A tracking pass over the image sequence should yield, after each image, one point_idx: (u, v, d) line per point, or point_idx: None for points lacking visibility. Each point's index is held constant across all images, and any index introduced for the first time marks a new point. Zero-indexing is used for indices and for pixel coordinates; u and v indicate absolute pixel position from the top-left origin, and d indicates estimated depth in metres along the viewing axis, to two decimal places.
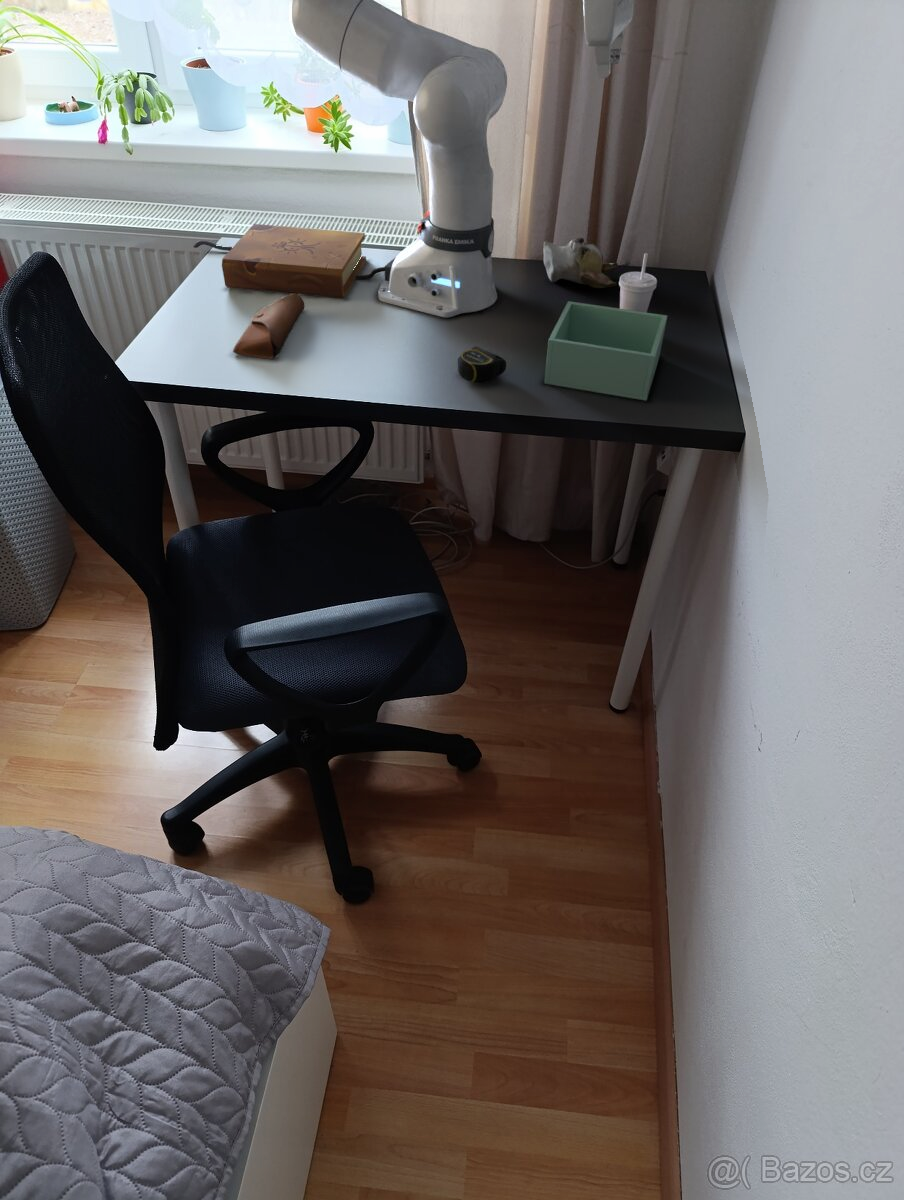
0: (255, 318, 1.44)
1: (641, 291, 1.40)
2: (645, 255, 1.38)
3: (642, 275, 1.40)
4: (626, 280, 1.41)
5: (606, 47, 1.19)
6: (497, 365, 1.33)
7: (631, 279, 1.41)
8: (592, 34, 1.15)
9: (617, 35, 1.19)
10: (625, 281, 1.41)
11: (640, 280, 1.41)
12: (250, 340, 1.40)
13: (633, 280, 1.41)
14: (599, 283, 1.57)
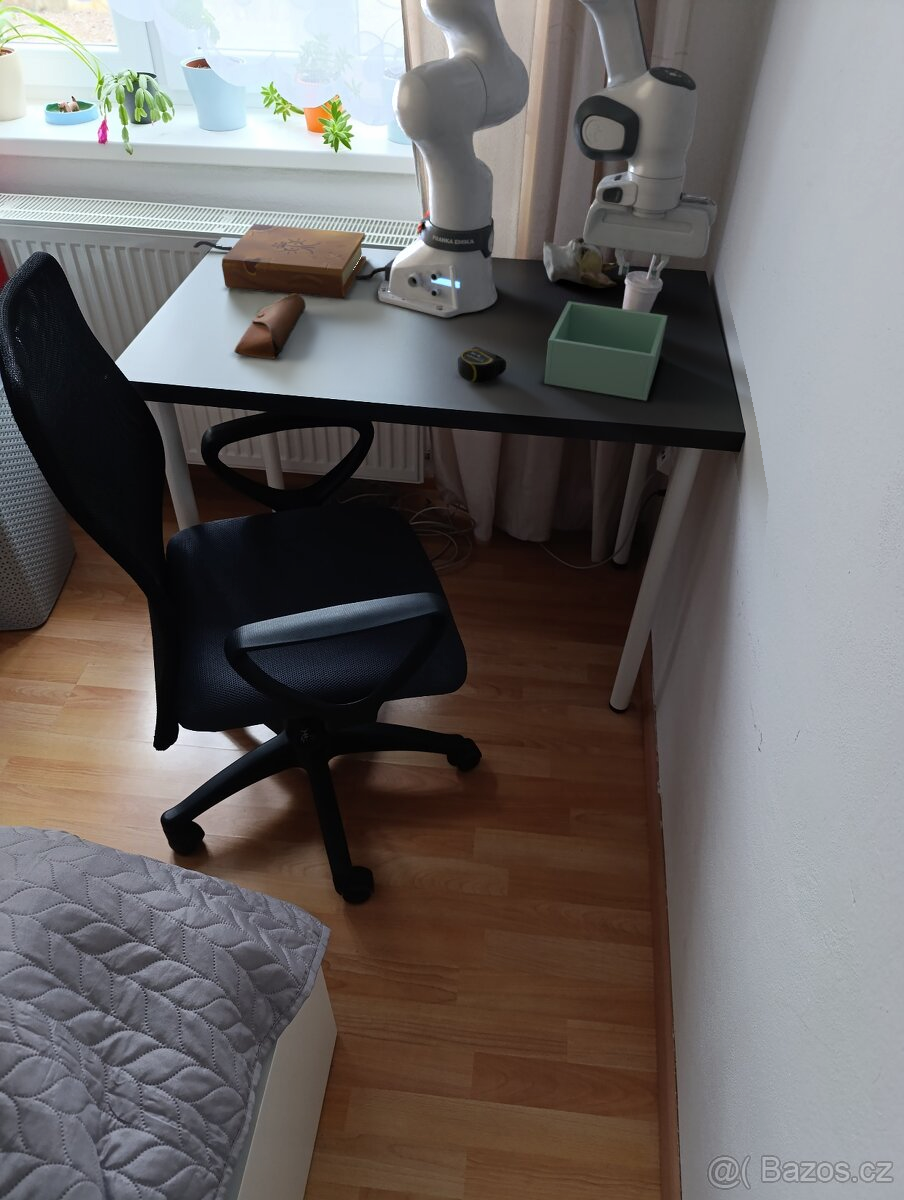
0: (256, 318, 1.44)
1: (647, 292, 1.39)
2: (654, 256, 1.38)
3: (649, 275, 1.40)
4: (632, 279, 1.41)
5: None
6: (497, 365, 1.33)
7: (637, 279, 1.41)
8: None
9: (616, 247, 1.37)
10: (631, 280, 1.40)
11: (646, 281, 1.40)
12: (251, 340, 1.40)
13: (639, 280, 1.40)
14: (599, 283, 1.57)
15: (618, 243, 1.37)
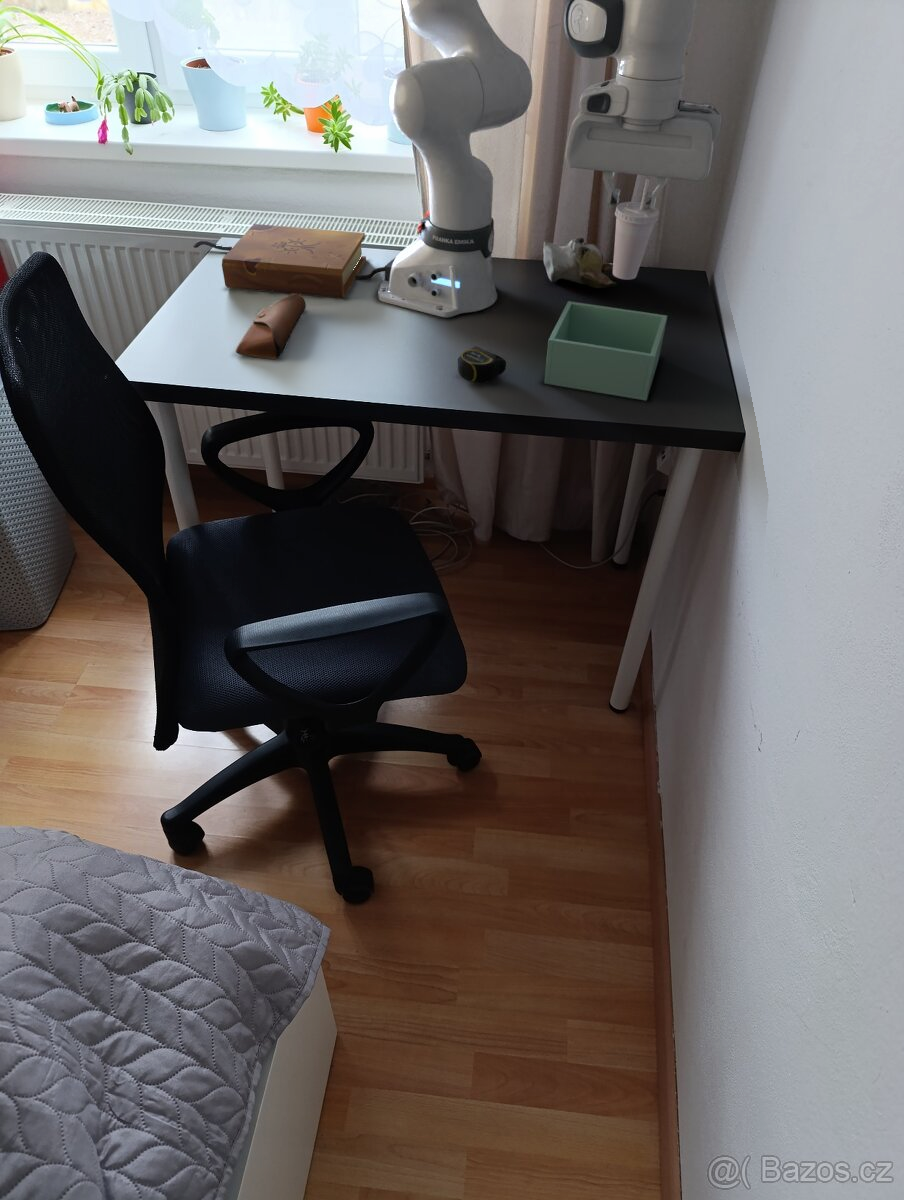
0: (257, 318, 1.44)
1: (641, 223, 1.20)
2: (647, 180, 1.18)
3: (643, 204, 1.21)
4: (623, 210, 1.21)
5: (603, 174, 1.19)
6: (497, 365, 1.33)
7: (629, 209, 1.21)
8: None
9: (604, 169, 1.18)
10: (622, 211, 1.21)
11: (640, 210, 1.21)
12: (252, 341, 1.40)
13: (632, 210, 1.21)
14: (599, 283, 1.57)
15: (606, 164, 1.17)
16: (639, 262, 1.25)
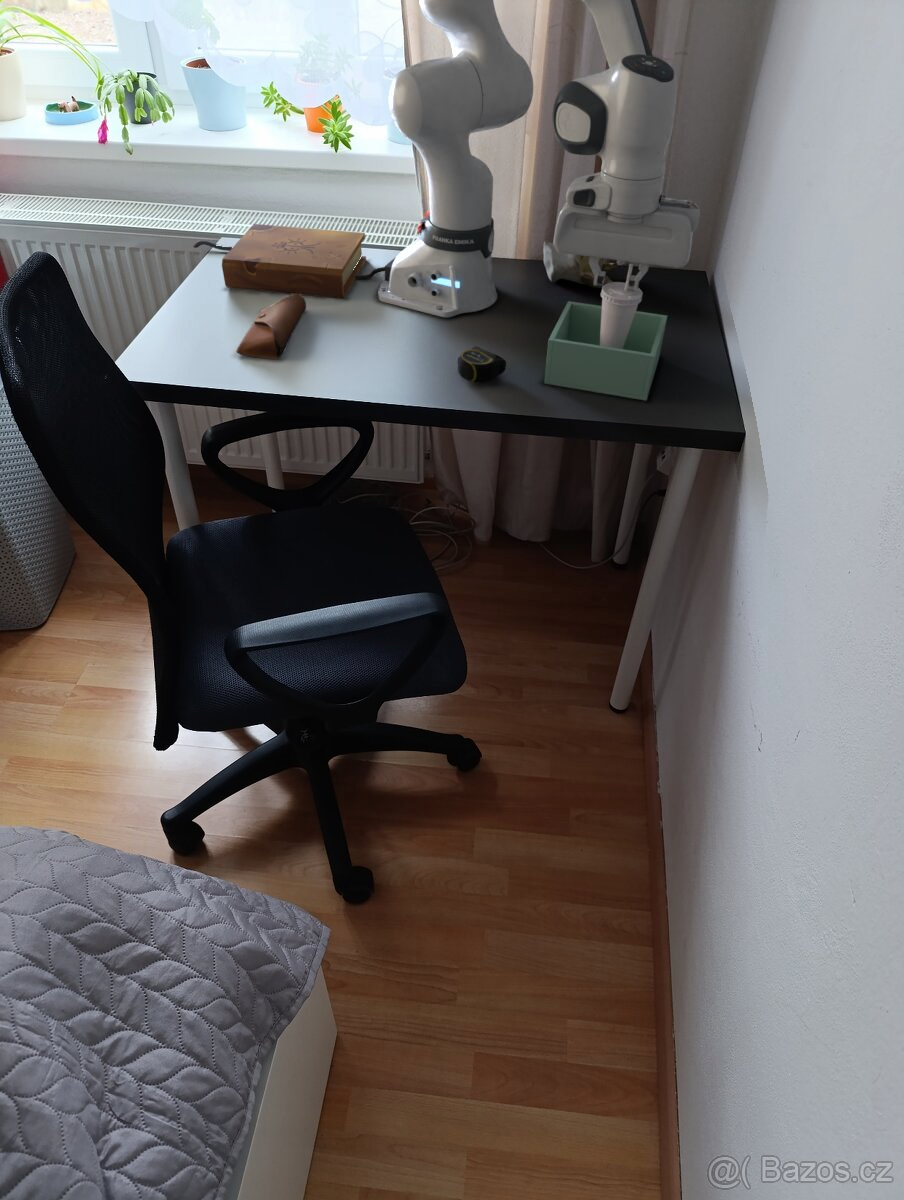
0: (258, 318, 1.44)
1: (625, 304, 1.27)
2: (630, 265, 1.25)
3: (627, 286, 1.28)
4: (608, 291, 1.28)
5: None
6: (497, 365, 1.33)
7: (614, 290, 1.28)
8: None
9: (590, 255, 1.25)
10: (608, 292, 1.28)
11: (624, 292, 1.28)
12: (253, 341, 1.40)
13: (616, 292, 1.28)
14: None
15: (592, 251, 1.24)
16: (624, 338, 1.32)
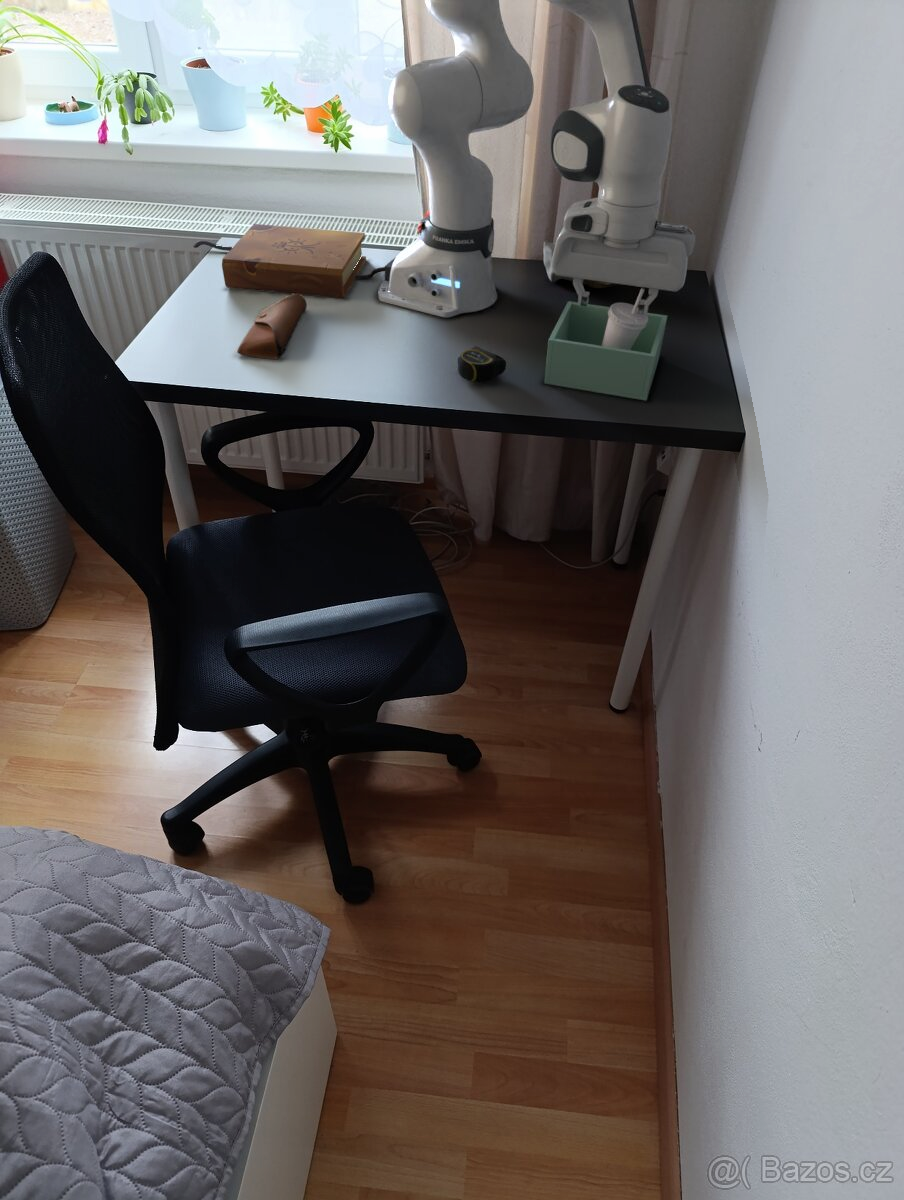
0: (258, 318, 1.44)
1: (630, 328, 1.29)
2: (642, 290, 1.27)
3: (634, 310, 1.29)
4: (616, 312, 1.30)
5: None
6: (497, 365, 1.33)
7: (622, 312, 1.30)
8: None
9: (587, 278, 1.27)
10: (615, 313, 1.29)
11: (631, 315, 1.30)
12: (254, 341, 1.40)
13: (624, 313, 1.30)
14: (599, 283, 1.57)
15: (589, 274, 1.26)
16: None
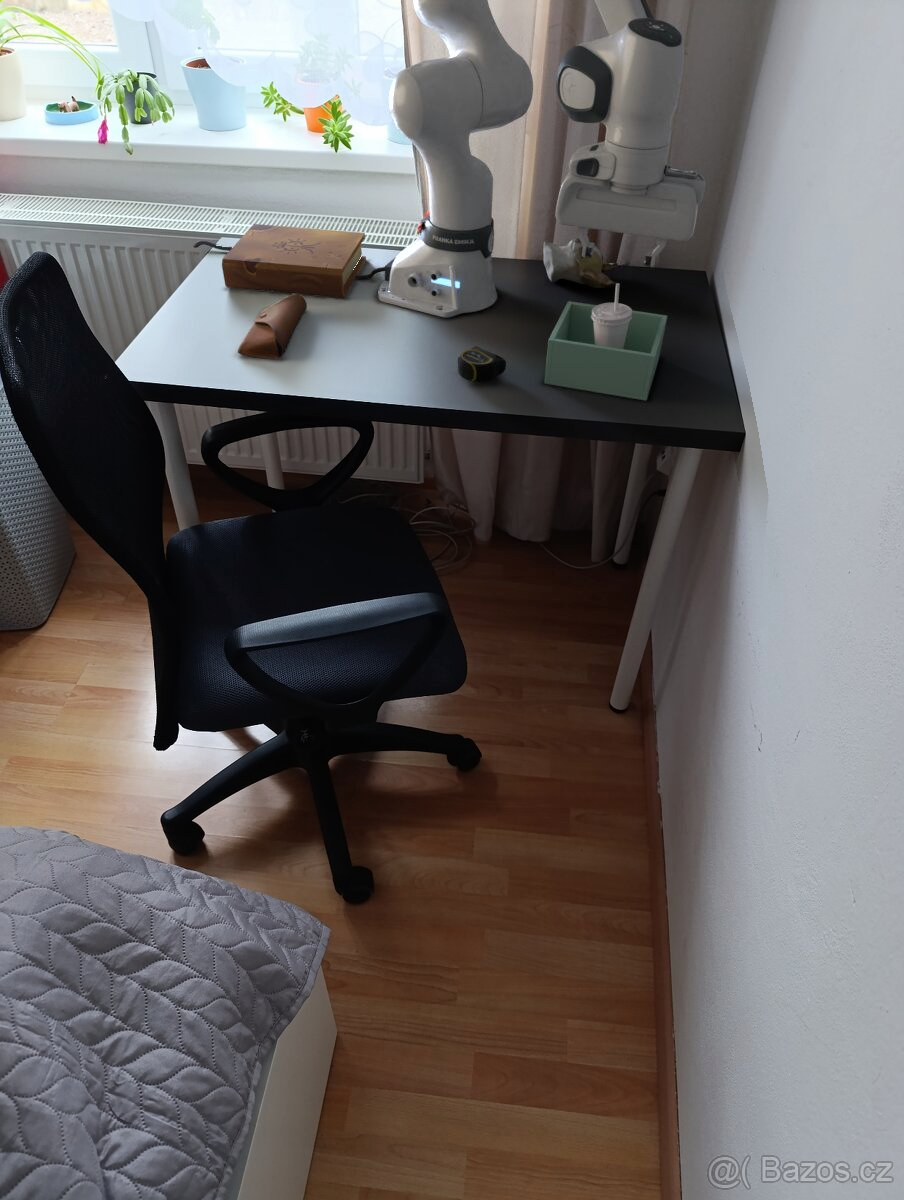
0: (258, 318, 1.44)
1: (615, 324, 1.29)
2: (617, 285, 1.28)
3: (616, 306, 1.30)
4: (598, 313, 1.31)
5: (578, 229, 1.24)
6: (497, 365, 1.33)
7: (604, 311, 1.31)
8: None
9: (592, 227, 1.22)
10: (597, 314, 1.30)
11: (613, 312, 1.30)
12: (254, 341, 1.40)
13: (606, 312, 1.30)
14: (599, 283, 1.57)
15: (594, 223, 1.21)
16: None
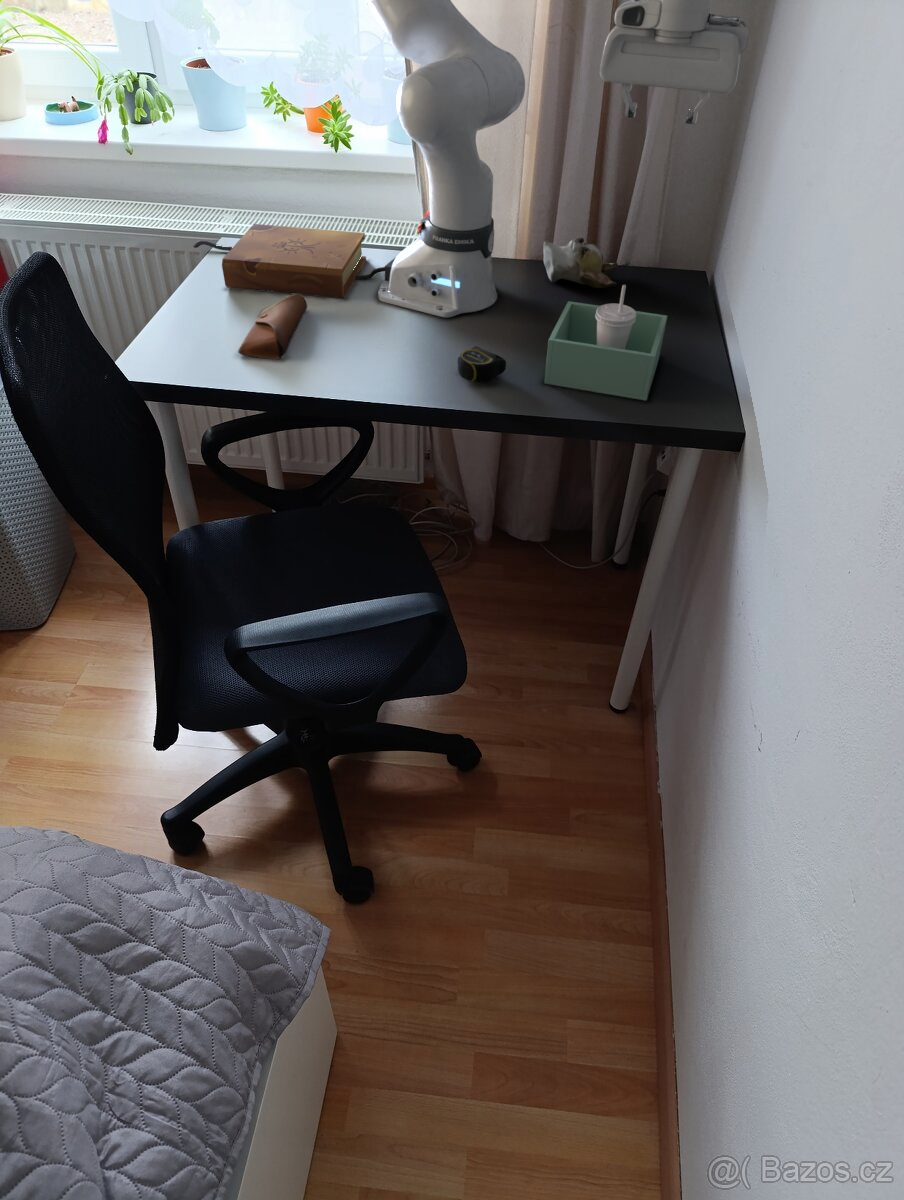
0: (259, 319, 1.44)
1: (619, 325, 1.29)
2: (623, 287, 1.28)
3: (620, 308, 1.30)
4: (603, 313, 1.31)
5: None
6: (497, 365, 1.33)
7: (608, 312, 1.31)
8: None
9: (636, 82, 1.25)
10: (602, 314, 1.30)
11: (618, 313, 1.30)
12: (255, 341, 1.40)
13: (610, 313, 1.30)
14: (599, 283, 1.57)
15: (638, 78, 1.25)
16: None
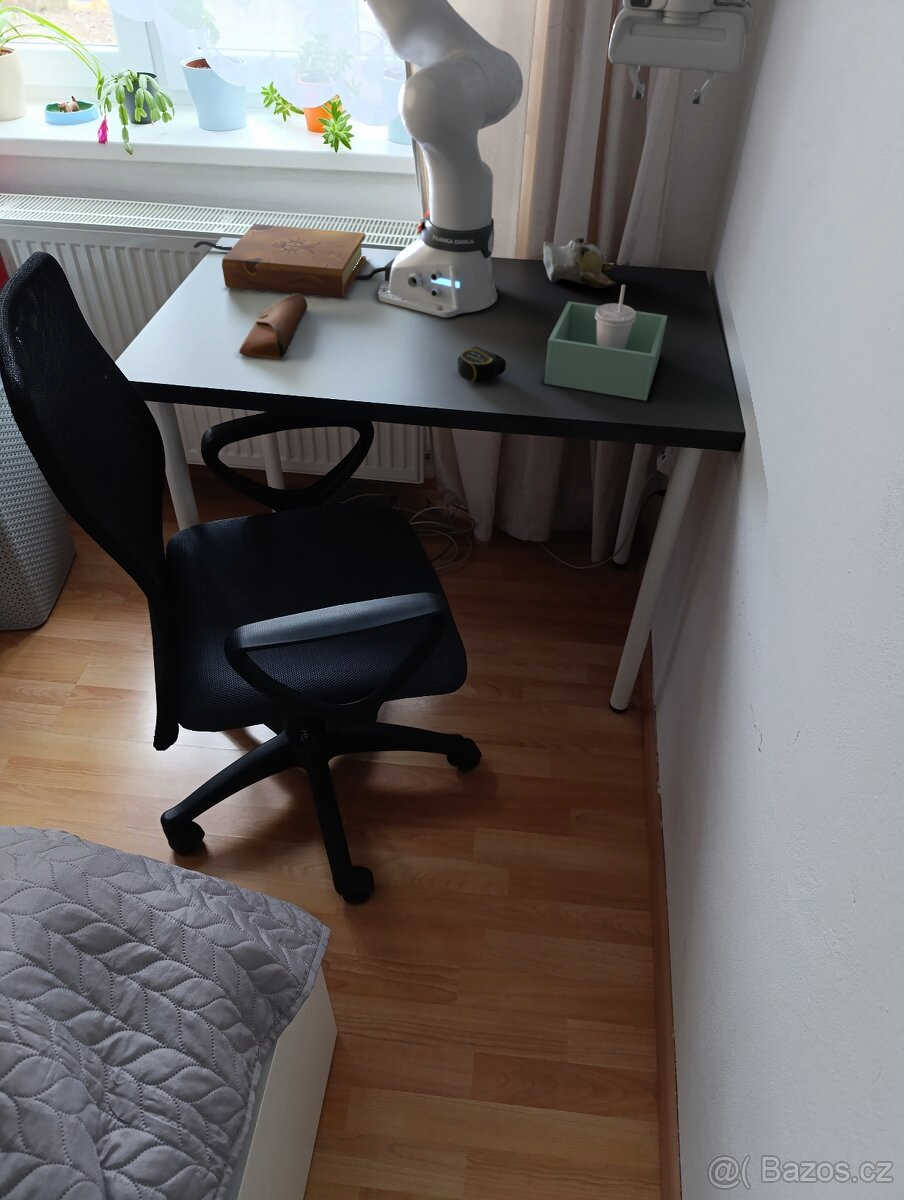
0: (259, 319, 1.44)
1: (618, 325, 1.29)
2: (622, 287, 1.28)
3: (620, 307, 1.30)
4: (602, 313, 1.31)
5: None
6: (497, 365, 1.33)
7: (608, 312, 1.31)
8: None
9: (644, 63, 1.28)
10: (601, 314, 1.30)
11: (617, 313, 1.30)
12: (256, 341, 1.40)
13: (610, 313, 1.30)
14: (599, 283, 1.57)
15: (646, 59, 1.27)
16: None
